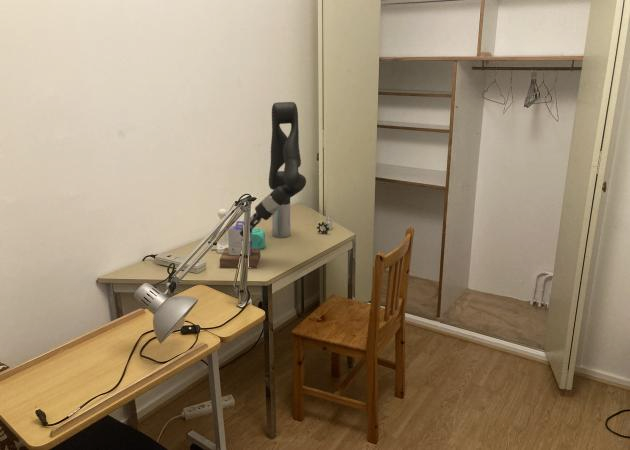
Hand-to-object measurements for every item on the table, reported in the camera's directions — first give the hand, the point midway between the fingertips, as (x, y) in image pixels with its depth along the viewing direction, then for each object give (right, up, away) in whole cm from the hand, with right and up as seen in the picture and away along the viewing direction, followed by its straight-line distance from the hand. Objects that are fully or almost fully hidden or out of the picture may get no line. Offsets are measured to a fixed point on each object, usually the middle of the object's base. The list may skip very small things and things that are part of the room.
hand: (242, 231), depth 233 cm
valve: (+38, -1, +49) cm, 61 cm away
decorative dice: (+3, -8, +24) cm, 25 cm away
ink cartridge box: (-1, -10, +3) cm, 10 cm away
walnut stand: (-1, -14, +4) cm, 14 cm away
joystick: (-12, -9, +18) cm, 24 cm away
